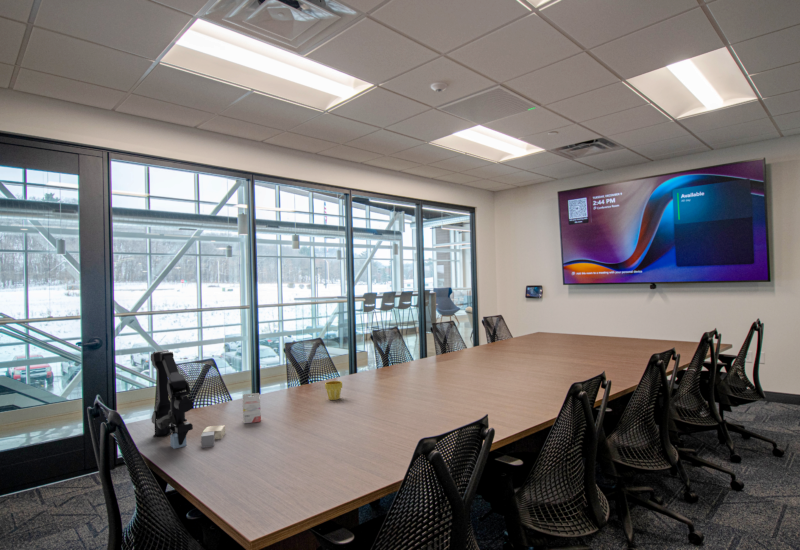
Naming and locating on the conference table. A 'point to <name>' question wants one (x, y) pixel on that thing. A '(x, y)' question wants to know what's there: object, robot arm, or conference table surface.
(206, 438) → the grey cube
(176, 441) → the blue cube
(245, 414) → the ink cartridge box
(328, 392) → the plant pot
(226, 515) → the conference table surface
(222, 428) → the maple block
